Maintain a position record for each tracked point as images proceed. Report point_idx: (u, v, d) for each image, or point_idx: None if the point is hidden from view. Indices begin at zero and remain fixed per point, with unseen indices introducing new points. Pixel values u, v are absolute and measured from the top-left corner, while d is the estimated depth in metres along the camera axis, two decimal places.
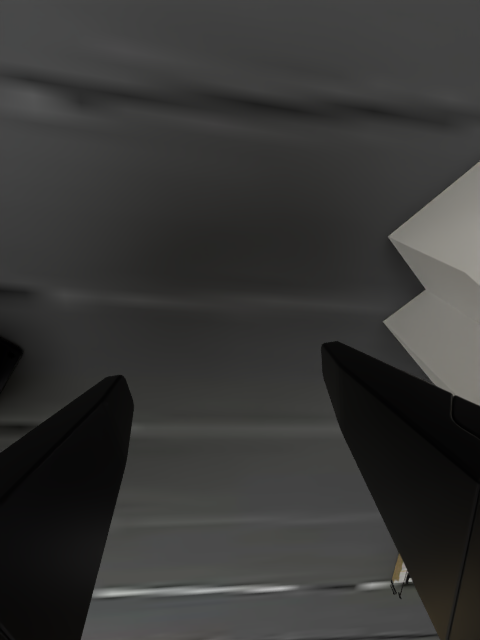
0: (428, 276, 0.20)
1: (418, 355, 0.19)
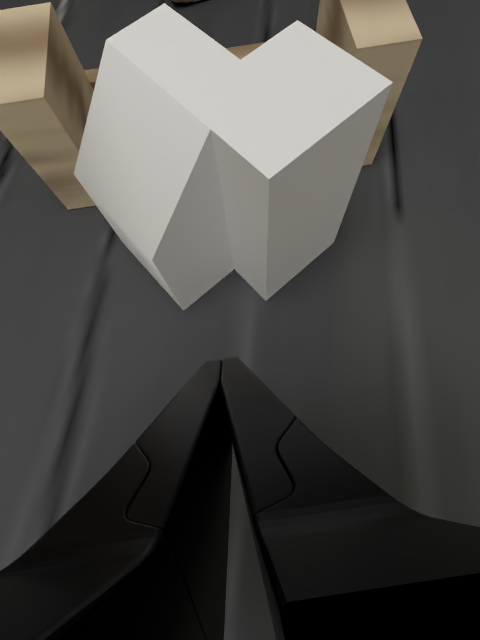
0: (204, 274, 0.22)
1: (266, 270, 0.20)
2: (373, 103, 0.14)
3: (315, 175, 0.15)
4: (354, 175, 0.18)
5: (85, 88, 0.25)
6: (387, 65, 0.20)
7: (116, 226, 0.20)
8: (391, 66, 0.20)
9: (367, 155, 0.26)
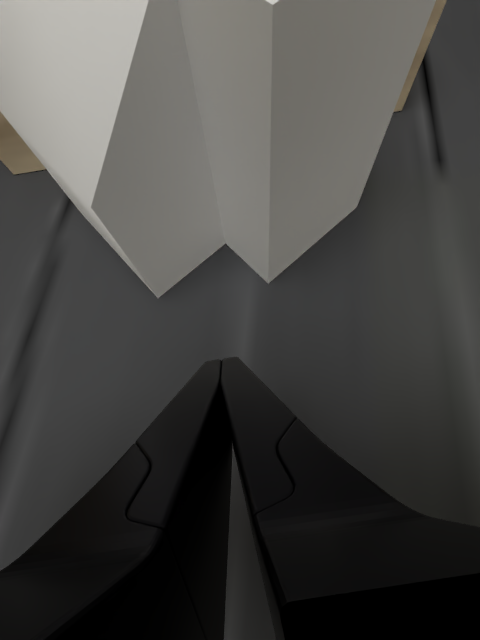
0: (183, 245, 0.16)
1: (268, 231, 0.14)
2: None
3: (348, 47, 0.09)
4: (398, 82, 0.12)
5: None
6: None
7: (54, 174, 0.14)
8: None
9: None
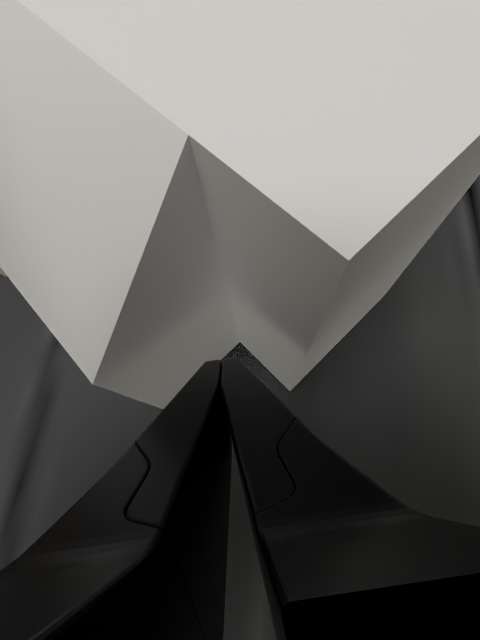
0: (195, 363, 0.14)
1: (297, 369, 0.12)
2: None
3: (415, 225, 0.07)
4: (450, 209, 0.10)
5: None
6: None
7: None
8: None
9: None
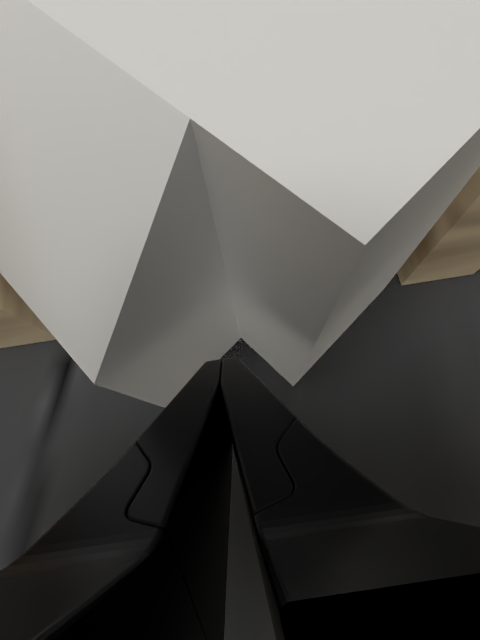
0: (197, 360, 0.14)
1: (302, 363, 0.11)
2: None
3: (424, 210, 0.07)
4: (454, 195, 0.10)
5: None
6: None
7: None
8: None
9: (471, 266, 0.16)
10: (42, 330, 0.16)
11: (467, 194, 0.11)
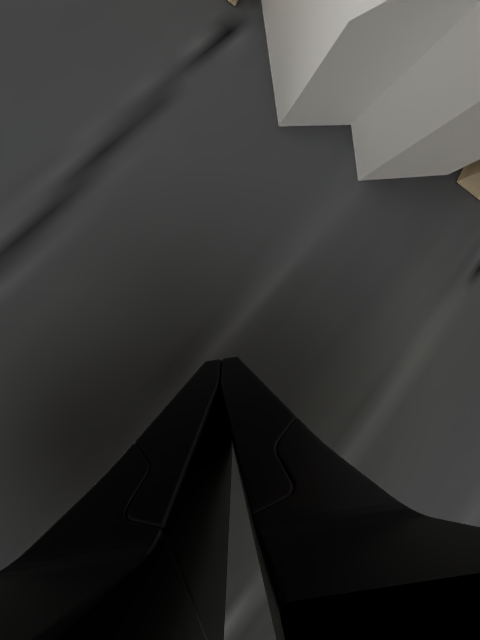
0: (337, 101, 0.18)
1: (412, 143, 0.17)
2: None
3: None
4: None
5: None
6: None
7: None
8: None
9: None
10: None
11: None
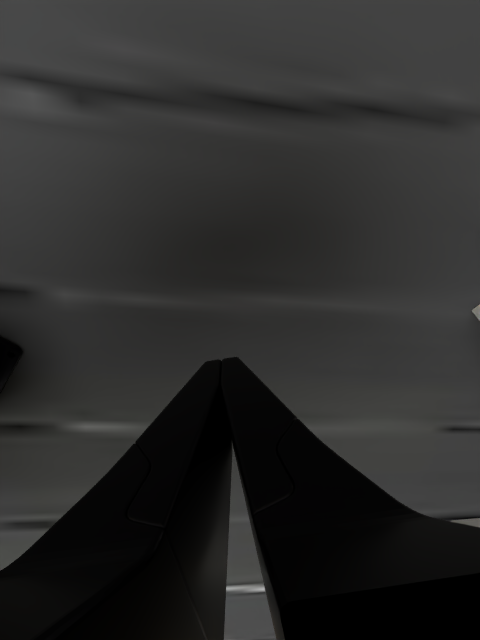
0: None
1: None
2: None
3: None
4: None
5: None
6: None
7: None
8: None
9: None
10: None
11: None
